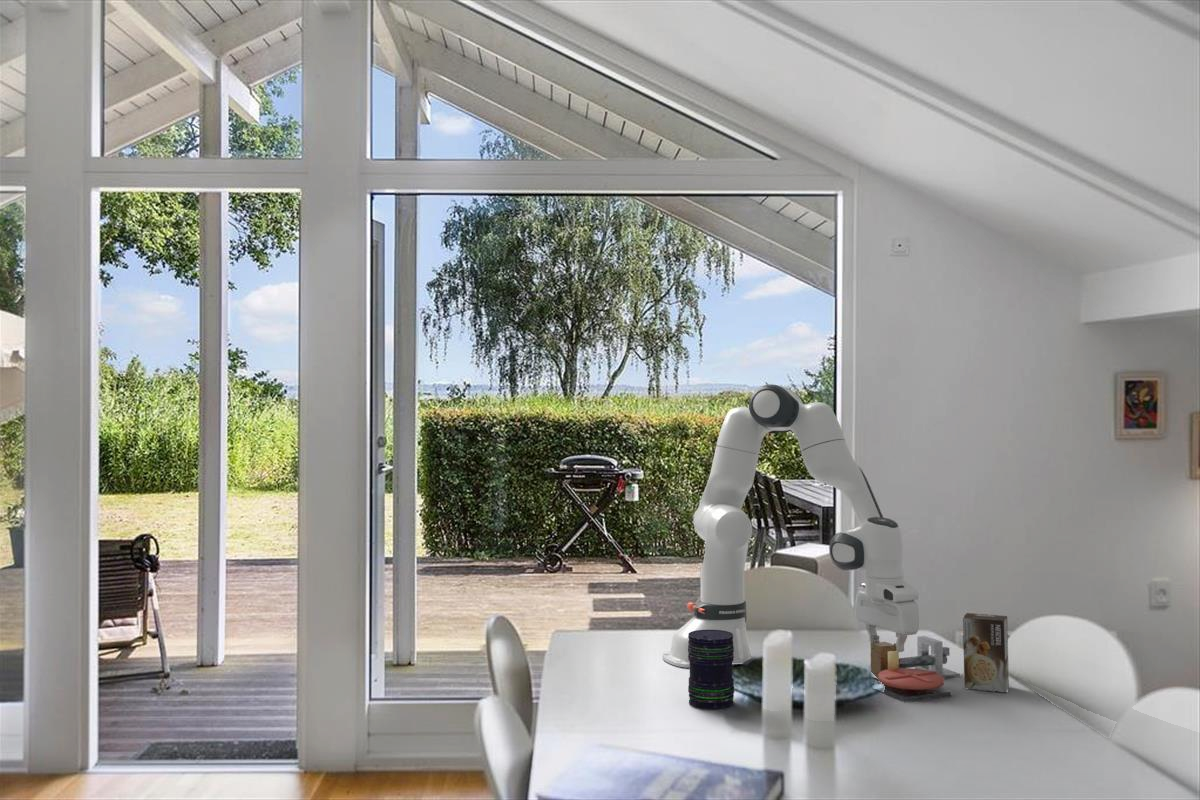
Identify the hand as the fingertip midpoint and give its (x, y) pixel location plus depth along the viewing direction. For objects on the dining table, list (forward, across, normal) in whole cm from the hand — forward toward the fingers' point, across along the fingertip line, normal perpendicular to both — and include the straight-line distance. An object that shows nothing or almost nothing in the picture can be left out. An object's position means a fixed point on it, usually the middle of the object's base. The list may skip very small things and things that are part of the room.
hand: (886, 647), depth 254 cm
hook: (+7, 0, +7) cm, 10 cm away
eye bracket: (+8, 0, +14) cm, 16 cm away
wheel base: (+7, +12, -3) cm, 14 cm away
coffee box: (+8, +16, +15) cm, 23 cm away
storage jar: (+6, +3, -47) cm, 48 cm away
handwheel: (+6, +12, -3) cm, 14 cm away
